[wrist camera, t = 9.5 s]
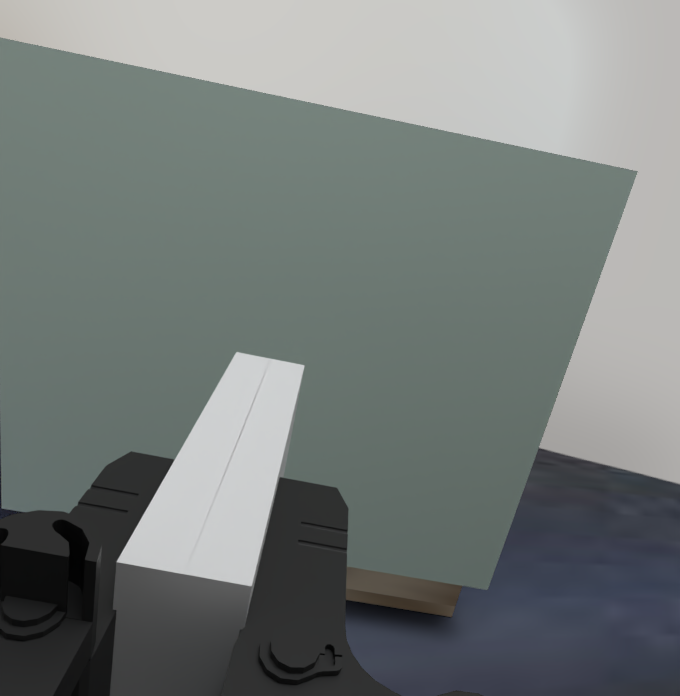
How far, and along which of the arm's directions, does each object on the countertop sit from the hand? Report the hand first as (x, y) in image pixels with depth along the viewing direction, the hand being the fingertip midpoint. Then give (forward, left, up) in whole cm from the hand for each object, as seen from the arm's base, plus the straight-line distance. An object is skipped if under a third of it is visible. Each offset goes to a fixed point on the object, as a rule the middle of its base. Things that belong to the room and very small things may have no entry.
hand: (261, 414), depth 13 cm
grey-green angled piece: (+6, -12, -9) cm, 16 cm away
